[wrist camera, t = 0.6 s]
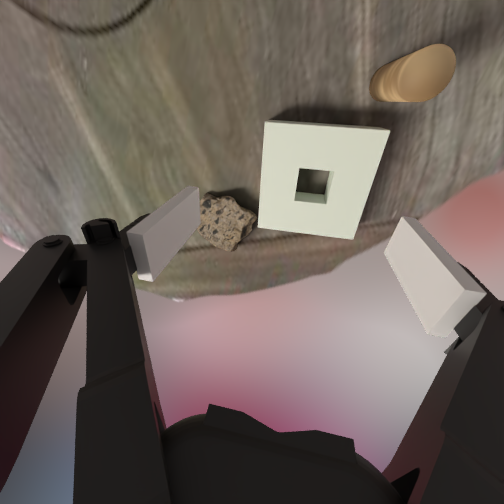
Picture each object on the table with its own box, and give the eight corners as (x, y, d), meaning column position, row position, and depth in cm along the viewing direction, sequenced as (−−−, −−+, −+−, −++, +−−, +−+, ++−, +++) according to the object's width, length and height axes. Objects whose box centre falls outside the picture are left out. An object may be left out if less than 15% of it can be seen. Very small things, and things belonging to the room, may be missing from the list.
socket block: (268, 119, 34) (264, 122, 31) (380, 127, 32) (390, 130, 29) (261, 216, 43) (257, 227, 40) (348, 227, 41) (353, 239, 38)
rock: (213, 177, 41) (204, 184, 38) (263, 212, 43) (259, 222, 39) (190, 219, 47) (181, 228, 43) (235, 248, 49) (229, 260, 45)
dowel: (375, 62, 29) (413, 43, 19) (409, 64, 28) (466, 44, 18) (365, 100, 31) (394, 100, 21) (396, 102, 31) (441, 103, 21)
